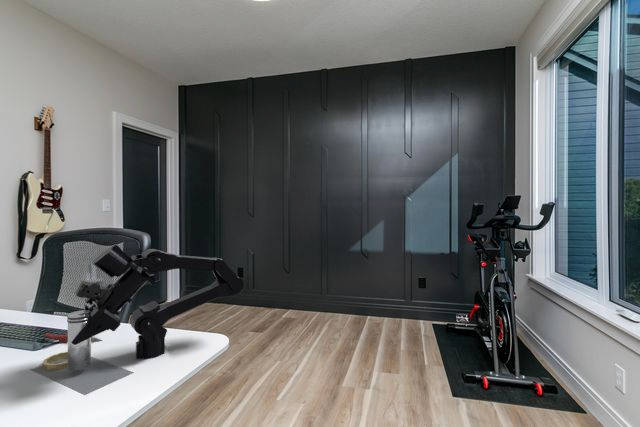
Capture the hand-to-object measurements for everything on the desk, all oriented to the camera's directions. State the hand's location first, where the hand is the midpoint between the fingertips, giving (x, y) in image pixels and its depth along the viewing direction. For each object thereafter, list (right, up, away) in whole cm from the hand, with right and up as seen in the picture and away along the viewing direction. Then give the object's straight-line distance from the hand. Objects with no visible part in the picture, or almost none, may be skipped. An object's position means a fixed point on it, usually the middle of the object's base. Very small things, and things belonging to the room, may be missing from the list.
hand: (72, 340), depth 79 cm
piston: (+1, -7, +1) cm, 7 cm away
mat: (+1, -9, +2) cm, 9 cm away
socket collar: (-7, -9, +6) cm, 12 cm away
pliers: (-17, -10, +23) cm, 30 cm away
